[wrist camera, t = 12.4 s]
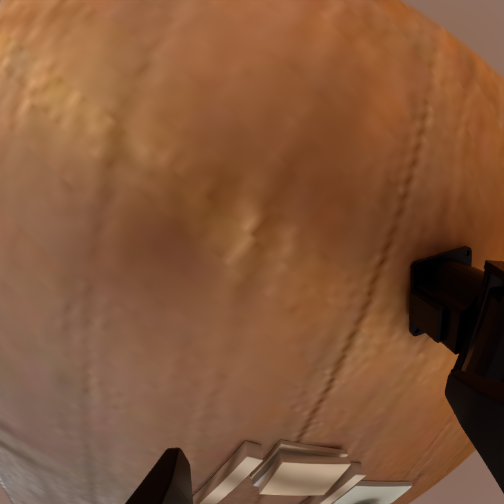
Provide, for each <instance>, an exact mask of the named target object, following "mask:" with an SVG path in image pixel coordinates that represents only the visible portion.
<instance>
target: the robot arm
mask: <svg viewBox="0 0 504 504" xmlns="http://www.w3.org/2000/svg"><path fill="white" fill-rule="evenodd" d="M466 252H467V254H466ZM471 262H472V250H471V248H470V247H467V246H465V247H462V248H458V249H455V250H452V251H448V252H445V253H441V254H438V255H434V256H431V257H427V258H424V259H420V260H417V261H414V262H413V263H412V265H411V291H410V316H409V319H410V333H411V334H412V335H413V336H418V335H421V334H423V333H426V334H427V335H428V336H430V337H431V338H432V339H433V340H434V341H435V342H437V343H439V342H442V343H443V344H444V345H445V346H446V347H447V348H448V349H450V350H451V351H452V352H453V353H454V354H455V355H456V354H458V353H459V355H458V358H457V360H456V363H455V365H454V368H453V369H452V370H451V372H450V374H449V375H448V379H447V383H446V388H445V396H446V398H447V400H448V402H449V404H450V406H451V408H452V409H453V411H454V413H455V415H456V417H457V419H458V421H459V423H460V425H461V427H462V428H463V430H464V431H465V433H466V434H467V436H468V437H469V439H470V440H471V442H472V444H473V445H474V447H475V448H476V450H477V451H478V453H479V454H480V456H481V457H482V459H483V461H484V462H485V464H486V465H487V467H488V468H489V470H490V472H491V473H492V475H493V477H494V478H495V480H496V482H497V483H498V485H499V487H500V488H501V490H502V492H503V493H504V262H501V261H490V260H486V261H485V265H484V269H485V271H484V272H483V271H481V270H479V269H477V268H475V267H472V266H471ZM417 266H419V267H418V269H417V270H416V267H417ZM416 329H417V330H416ZM415 330H416V331H415ZM125 504H193V495H192V483H191V471H190V464H189V462H188V460H187V458H186V456H185V455H184V453H183V451H182V450H181V449H180V448H168V449H167V450H166V451H165V452H164V453H163V455H162V456H161V457H160V459H159V460H158V461H157V463H156V464H155V465H154V467H153V468H152V469H151V471H150V472H149V473H148V475H147V476H146V477H145V479H144V480H143V481H142V483H141V484H140V485H139V486H138V488H137V489H136V490H135V492H134V493H133V494H132V496H131V497H130V498H129V499H128V501H127V502H126V503H125Z"/></svg>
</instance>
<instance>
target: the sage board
mask: <svg viewBox="0 0 504 504" xmlns="http://www.w3.org/2000/svg"><path fill="white" fill-rule="evenodd" d="M411 487H412V484H411V482H410V481H405V482H383V481H359V482H358V483H356V484H355V485H354V486H353V487H352V488H350V489H349V490H348V491H347V492H345V493H344V494H343V495H342V496H340V497H339V498H338V499H336V500H335V501H334V502H332V503H331V504H367V503H376V504H391V503H392V502H393V501H395V500H396V499H397V498H399V497H400V496H401V495H402V494H403V493H405V492H406V491H407V490H408V489H410V488H411Z"/></svg>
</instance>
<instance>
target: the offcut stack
mask: <svg viewBox="0 0 504 504" xmlns="http://www.w3.org/2000/svg"><path fill="white" fill-rule="evenodd" d="M347 455H348V452H347V450H341V449H333V448H326V447H319V446H313V445H307V444H302V443H296V442H291V441H286V440H280V441H279V442H278V443H277V444H276V445H275V447H274V448H273V449H272V450H271V451H270V452H269V453H268V455H267V456H266V457H265V458H264V459H263V461H262V462H261V463H260V464H259V465H258V466H257V467H256V468H255V469H254V470H253V471H252V472H251V473H250V478H252V483H253V486H258V487H259V492H260V494H270V495H324V494H325V493H326V492H327V491H328V490H329V489H330V488H331V486H332V485H333V484H334V483H335V482H336V481H337V480H338V479H339V478H340V476H341V475H342V474H343V473H344V472H345V471H346V470H347V468H348V467H349V466H350V465H351V463H350V460H349V458H348V457H346V456H347Z"/></svg>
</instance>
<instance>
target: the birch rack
mask: <svg viewBox="0 0 504 504" xmlns="http://www.w3.org/2000/svg"><path fill="white" fill-rule="evenodd" d="M262 461H263V457H262V450H261V445H259V444H255V443H252V442H248V441H245V442H244V443H243V444H242V445H241V446H240V447H239V449H238V450H237V451H236V452H235V453H234V454H233V455H232V456H231V458H230V459H229V460H228V461H227V462H226V463H225V464H224V465H223V466H222V467H221V468H220V469H219V471H218V472H217V473H216V474H215V475H214V476H213V477H212V478H211V479H210V480H209V481H208V482H207V483H206V484H205V485H204V486H203V487H202V488H201V489H200V490H199V491H198V492H197V493H196V494H195V495H194V496H193V504H217V503H218V502H219V501H220V500H221V499H223V498H224V497H225V496H226V495H227V494H228V493H229V492H231V491H232V490H233V489H234V488H235V487H236V486H237V485H238V484H239V483H240V482H241V481H242V480H244V479H245V478H246V477H247V476H248V475H249V474H250V473H251V472H252V471H253V470H254V469H255V468H256V467H257V466H258V465H259V464H260V463H261V462H262ZM350 463H351V465H350V466H349V467H348V468H347V470H346V471H345V472H344V473H343V474H342V475H341V476H340V478H339V479H338V480H337V481H336V482H335V483H334V484H333V485H332V486H331V488H330V489H329V490H328V491H327V492H326V493H325V494H324V495H311V496H310V497H309V498H307V499H306V500H305V501H303V502H302V503H301V504H331V503H332V502H334V501H335V500H336V499H338V498H339V497H340V496H342V495H343V494H344V493H345V492H347V491H348V490H349V489H350V488H352V487H353V486H354V485H355V484H356V483H358V482H359V481H360V480H361V479H362V478H364V477H365V476H366V474H365V472H364V470H363V468H362V465H361V463H355V462H350Z"/></svg>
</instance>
